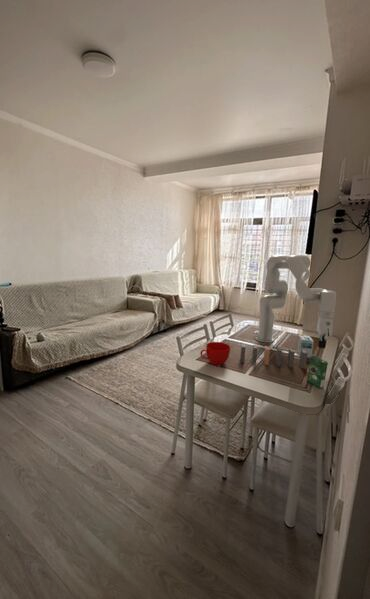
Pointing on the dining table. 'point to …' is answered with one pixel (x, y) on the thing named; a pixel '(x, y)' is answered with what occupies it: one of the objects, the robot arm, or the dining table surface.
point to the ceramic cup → (217, 353)
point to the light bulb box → (305, 345)
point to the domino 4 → (278, 356)
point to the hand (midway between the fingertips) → (321, 347)
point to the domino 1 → (242, 353)
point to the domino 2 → (254, 354)
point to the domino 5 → (290, 357)
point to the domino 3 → (266, 355)
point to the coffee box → (317, 371)
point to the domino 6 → (303, 359)
